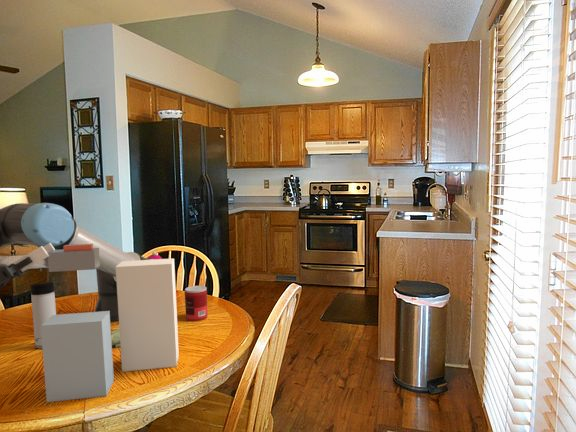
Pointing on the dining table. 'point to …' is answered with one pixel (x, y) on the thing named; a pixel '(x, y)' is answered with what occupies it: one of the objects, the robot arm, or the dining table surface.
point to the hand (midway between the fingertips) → (49, 249)
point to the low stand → (77, 355)
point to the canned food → (196, 303)
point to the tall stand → (147, 314)
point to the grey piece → (63, 259)
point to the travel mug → (42, 308)
